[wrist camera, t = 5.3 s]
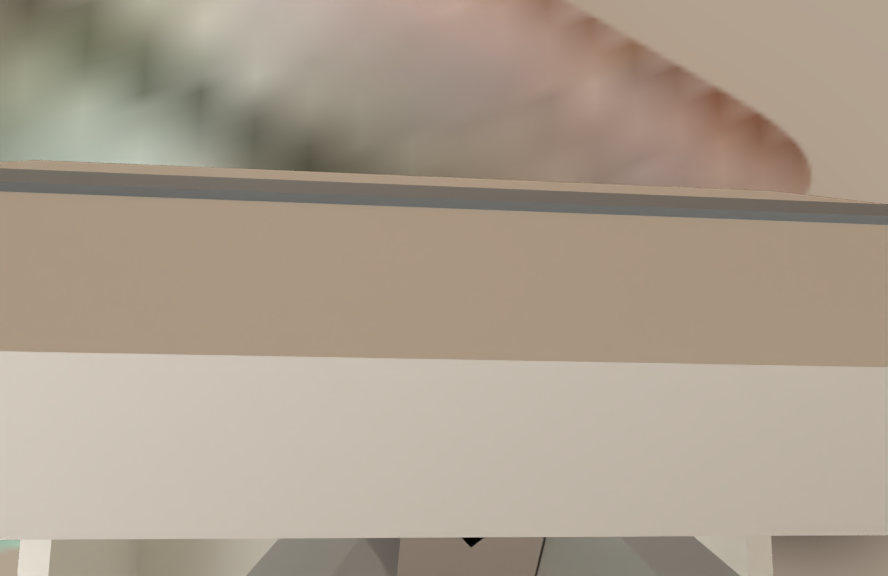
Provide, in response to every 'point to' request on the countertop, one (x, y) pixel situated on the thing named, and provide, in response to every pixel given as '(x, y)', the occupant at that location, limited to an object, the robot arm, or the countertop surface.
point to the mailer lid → (434, 357)
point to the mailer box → (260, 556)
